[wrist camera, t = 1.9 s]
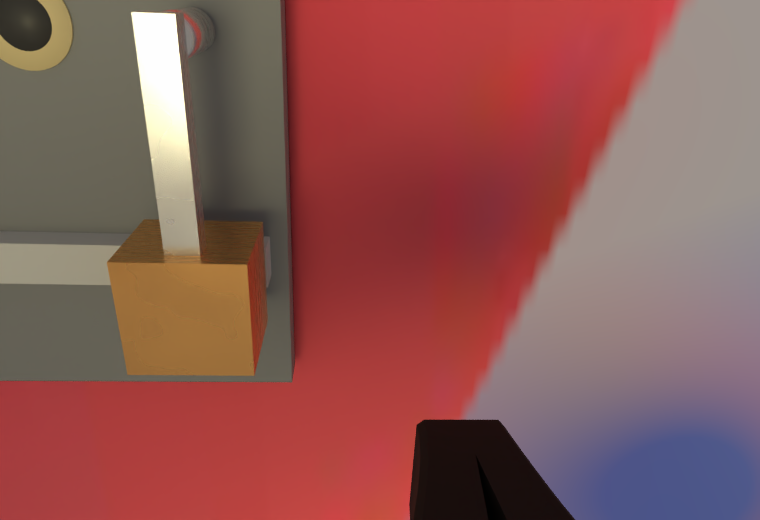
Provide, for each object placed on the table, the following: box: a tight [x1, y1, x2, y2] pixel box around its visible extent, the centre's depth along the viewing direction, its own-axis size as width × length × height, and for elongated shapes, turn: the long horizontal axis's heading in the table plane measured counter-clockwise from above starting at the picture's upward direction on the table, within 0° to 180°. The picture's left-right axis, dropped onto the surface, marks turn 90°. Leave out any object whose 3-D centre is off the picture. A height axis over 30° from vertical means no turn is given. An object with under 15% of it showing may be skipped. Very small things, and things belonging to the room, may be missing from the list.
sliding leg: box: [107, 7, 268, 376], centre depth 13 cm, size 3×8×3 cm, turn 178°
